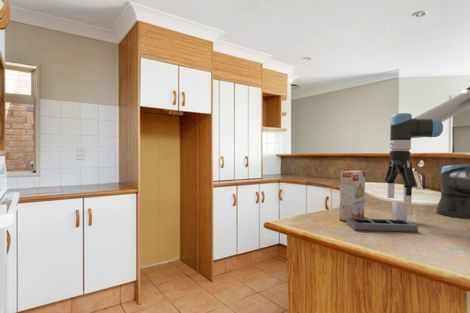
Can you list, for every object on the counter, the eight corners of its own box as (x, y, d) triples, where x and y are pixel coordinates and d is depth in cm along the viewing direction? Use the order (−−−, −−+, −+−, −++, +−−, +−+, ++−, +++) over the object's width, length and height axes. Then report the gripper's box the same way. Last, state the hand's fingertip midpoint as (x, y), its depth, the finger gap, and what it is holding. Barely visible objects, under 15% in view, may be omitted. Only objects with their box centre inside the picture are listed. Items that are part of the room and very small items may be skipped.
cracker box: (353, 223, 111) (353, 172, 110) (338, 220, 115) (339, 171, 115) (365, 217, 121) (365, 170, 120) (351, 215, 125) (352, 169, 125)
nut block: (401, 219, 116) (401, 201, 116) (406, 222, 112) (407, 203, 112) (391, 219, 117) (392, 201, 116) (396, 222, 113) (396, 202, 112)
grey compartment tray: (404, 225, 107) (404, 219, 107) (417, 232, 98) (417, 225, 98) (346, 224, 108) (346, 218, 108) (354, 230, 100) (354, 223, 99)
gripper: (377, 150, 127) (376, 195, 127) (406, 149, 102) (405, 206, 102) (394, 151, 126) (393, 196, 126) (427, 150, 101) (425, 206, 102)
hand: (398, 200), depth 114 cm, fingers open, 13 cm apart
